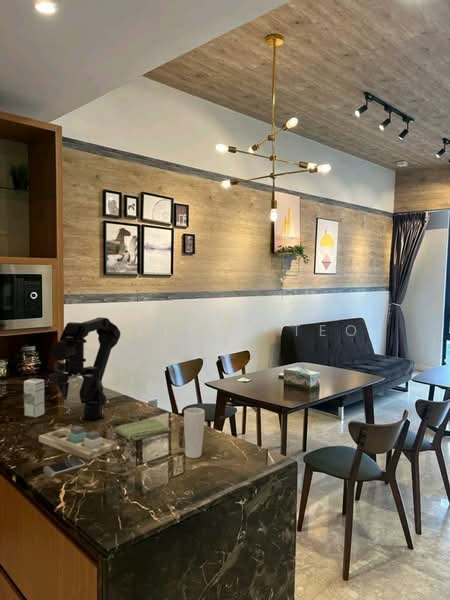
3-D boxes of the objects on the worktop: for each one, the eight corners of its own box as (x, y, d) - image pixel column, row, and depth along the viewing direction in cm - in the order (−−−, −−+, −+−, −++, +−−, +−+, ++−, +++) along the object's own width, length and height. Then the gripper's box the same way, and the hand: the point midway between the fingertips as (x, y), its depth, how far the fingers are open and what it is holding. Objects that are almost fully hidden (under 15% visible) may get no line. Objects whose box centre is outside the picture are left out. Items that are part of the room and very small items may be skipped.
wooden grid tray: (67, 431, 166) (67, 426, 166) (117, 448, 152) (117, 442, 152) (38, 441, 156) (38, 435, 156) (88, 460, 142) (88, 454, 142)
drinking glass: (183, 451, 151) (184, 407, 150) (203, 451, 151) (204, 407, 150) (183, 460, 144) (183, 414, 143) (204, 459, 145) (205, 413, 144)
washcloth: (172, 433, 169) (172, 424, 169) (130, 444, 157) (130, 435, 157) (153, 423, 179) (153, 415, 179) (112, 433, 167) (112, 425, 167)
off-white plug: (93, 447, 152) (93, 430, 152) (101, 450, 150) (101, 432, 150) (84, 451, 149) (84, 433, 149) (92, 454, 147) (92, 436, 147)
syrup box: (44, 413, 186) (45, 379, 186) (34, 418, 181) (34, 382, 180) (33, 412, 188) (33, 377, 187) (23, 416, 183) (23, 380, 182)
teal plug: (78, 442, 157) (78, 425, 156) (86, 444, 155) (86, 427, 154) (68, 445, 154) (68, 428, 153) (76, 448, 151) (76, 430, 151)
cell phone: (86, 468, 137) (86, 463, 137) (50, 479, 130) (50, 474, 130) (77, 461, 142) (77, 457, 142) (42, 471, 134) (42, 467, 134)
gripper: (82, 350, 181) (81, 388, 182) (40, 356, 165) (40, 398, 166) (100, 353, 175) (100, 393, 175) (59, 360, 159) (59, 404, 160)
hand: (75, 397), depth 169 cm, fingers open, 9 cm apart
